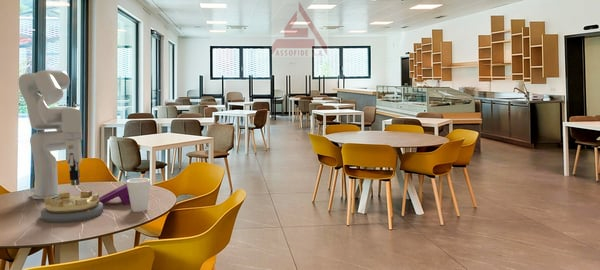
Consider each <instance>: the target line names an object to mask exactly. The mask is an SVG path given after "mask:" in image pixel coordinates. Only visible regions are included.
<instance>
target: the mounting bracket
mask: <svg viewBox="0 0 600 270" xmlns="http://www.w3.org/2000/svg"><path fill="white" fill-rule="evenodd" d="M116 198H119V199H120V201H121V203H122V204H124V205H127V204H128V205H131V204H130V198H129V193H128V187H127V182H126V183H124V184H123V185H120V186H119V187H117V188H114V189H113V190H111V191H109V192H107V193H105V194H104V195H101V196H100V197H99V202H101V203H103V205H105V204H106V203H108V202H110V201H111V200H113V199H116ZM128 205H127V206H128Z"/></svg>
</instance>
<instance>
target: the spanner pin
mask: <svg viewBox="0 0 600 270" xmlns="http://www.w3.org/2000/svg"><path fill="white" fill-rule="evenodd" d="M74 163H75V162H74ZM79 165H80V164H79ZM79 165H78V162H77V170H78V180H70V184H71V186H79V185H80V184H81V183H80V178H79V172H80V166H79Z"/></svg>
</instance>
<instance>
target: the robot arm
mask: <svg viewBox="0 0 600 270" xmlns="http://www.w3.org/2000/svg"><path fill="white" fill-rule="evenodd" d="M70 84H71V79H70V76H69V74H68V73H67V71H64V70H52V69H51V70H47V69H45V70H39V71H37V72H27V73H24V74H21V75H20V76H19V77H18V88H19V92H20V94H21V96H22V97H23V100H24V101H25V104H26V108H27V113H28V120H29V124H30V126H31V129H33V130H36V131H37V132H35V133H33V134H31V136H30V139H29V143H30V147H31V151H32V156H33V157H32V158H33V168H34V169H33V170H34V185H35V186H33V187H32V188H31V189H30V192H32V193H34V194H33V195H32V196H31V198H32V199H33V200H44V199H45V198H46V197H52V199H56V198H58V193H63V192H62V191H59V181H58V164H57V163H58V162H57V159H56V157H55V156H54V155H53V154H52V153H51V152H54V151H63V150H65V158H66V163H67V164H68V165H69V171H68V172H69V180H70V181H71V180H78V170H77V162H78V165H80V163H82V161H83V154H82V143H81V140H83V126H82V111H81V108H79V107H74V106H50V105H53V104H56V103H57V102H59V101H61V100H62V98H63V97H64V91H63V90H65V89H68V88H69V86H70ZM39 92H40V93H39ZM38 130H39V132H38ZM44 130H46V131H44ZM47 130H50V131H47ZM51 130H52V131H51ZM74 162H75V163H74ZM80 174H81V173H80V171H79V179H80V178H81V175H80Z"/></svg>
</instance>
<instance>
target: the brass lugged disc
mask: <svg viewBox="0 0 600 270" xmlns="http://www.w3.org/2000/svg"><path fill="white" fill-rule="evenodd" d="M70 194H71V193H70V191H64V192H62V193H58V197H56V198H52V197H46V198H45V199H43V201H44V208H45V211H46V212H49V213H58V214H62V213H75V212H81V211H86V210H90V209H93V208H95V207H97V206H98V205H99V198H100V197H99V193H97V192H95V193H93V191H92V190H81V191H80V195H79V194H78V195H70Z"/></svg>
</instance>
